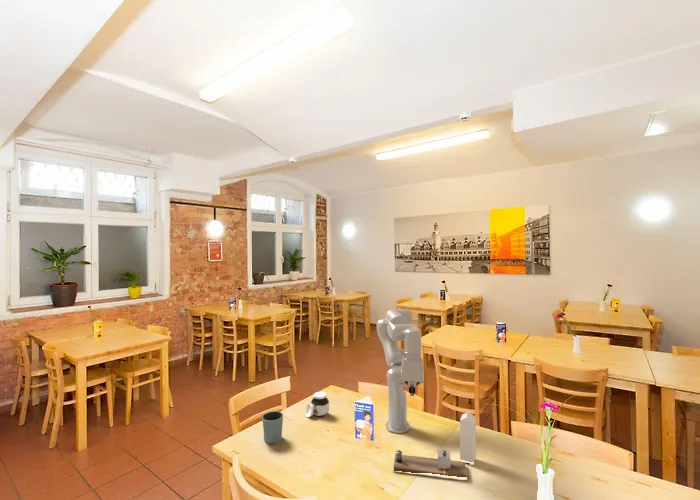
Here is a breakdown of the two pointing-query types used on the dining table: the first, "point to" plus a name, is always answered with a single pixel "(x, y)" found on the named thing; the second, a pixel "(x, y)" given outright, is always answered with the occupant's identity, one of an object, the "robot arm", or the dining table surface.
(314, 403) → the spread jar
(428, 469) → the board
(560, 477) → the dining table surface
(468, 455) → the milk
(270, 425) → the blue-grey cup
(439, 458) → the sliding leg
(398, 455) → the fixed leg
